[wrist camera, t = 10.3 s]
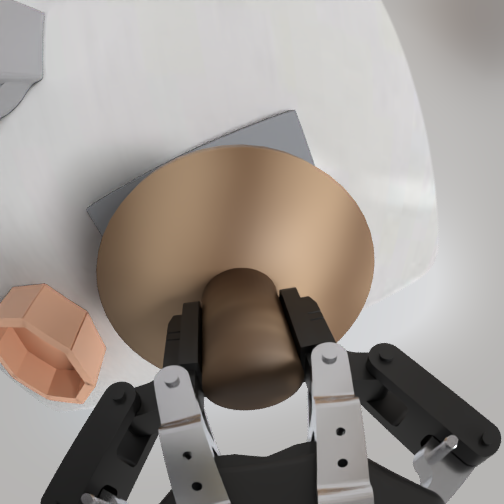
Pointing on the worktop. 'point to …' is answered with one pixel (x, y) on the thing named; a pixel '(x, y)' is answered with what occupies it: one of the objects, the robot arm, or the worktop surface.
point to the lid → (235, 264)
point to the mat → (259, 134)
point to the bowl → (49, 343)
